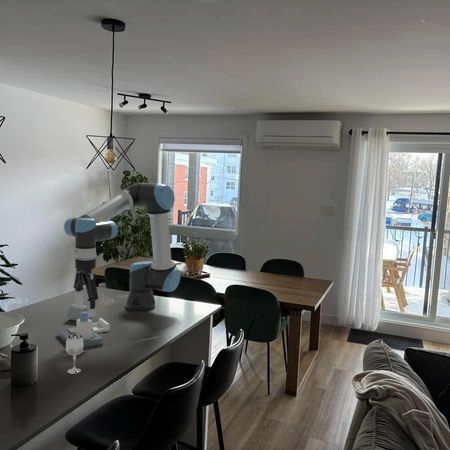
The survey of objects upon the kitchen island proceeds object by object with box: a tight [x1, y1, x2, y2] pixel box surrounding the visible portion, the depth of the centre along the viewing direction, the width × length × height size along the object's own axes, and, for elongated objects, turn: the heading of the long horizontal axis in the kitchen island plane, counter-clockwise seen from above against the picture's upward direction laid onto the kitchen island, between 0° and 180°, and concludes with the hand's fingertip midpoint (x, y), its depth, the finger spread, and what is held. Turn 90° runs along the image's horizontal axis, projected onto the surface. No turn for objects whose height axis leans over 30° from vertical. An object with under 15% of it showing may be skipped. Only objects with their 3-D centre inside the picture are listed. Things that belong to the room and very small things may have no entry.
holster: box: [92, 317, 110, 334], centre depth 194 cm, size 8×9×4 cm
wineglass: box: [65, 335, 84, 375], centre depth 153 cm, size 6×6×12 cm
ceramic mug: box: [67, 302, 92, 322], centre depth 207 cm, size 11×8×8 cm
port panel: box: [57, 326, 104, 349], centre depth 181 cm, size 12×18×3 cm, turn 37°
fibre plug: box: [75, 312, 93, 340], centre depth 177 cm, size 4×4×13 cm
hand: (85, 311), depth 176 cm, fingers open, 13 cm apart
